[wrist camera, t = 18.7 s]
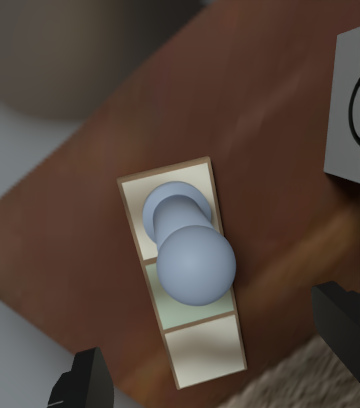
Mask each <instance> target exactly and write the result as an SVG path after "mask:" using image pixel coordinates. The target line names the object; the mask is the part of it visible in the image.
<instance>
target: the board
mask: <svg viewBox="0 0 360 408" xmlns="http://www.w3.org/2000/svg"><path fill="white" fill-rule="evenodd" d="M170 181H182V182H186V183H189V184H191V185H193V186H194V187H196V188H197V189H198V190H199V191H200V192H201V193H202V194H203V196H204V197H205V198H206V200H207V201H208V203H209V206H210V210H211V222H210V223H211V224H212V226H213V227H214V229H215V230H216V231H217V232H219V233H220V234H221V235H222V236H223V237H224V234H223V229H222V223H221V217H220V212H219V206H218V200H217V195H216V189H215V183H214V178H213V172H212V166H211V161H210V158H209V157H208V156H207V157H202V158H198V159H194V160H190V161H186V162H181V163H177V164H173V165H169V166H165V167H160V168H156V169H152V170H148V171H144V172H139V173H135V174H131V175H127V176H123V177H118V178H117V183H118V186H119V190H120V193H121V197H122V200H123V204H124V207H125V211H126V214H127V218H128V221H129V224H130V228H131V231H132V235H133V238H134V242H135V245H136V249H137V252H138V256H139V259H140V262H141V266H142V269H143V273H144V276H145V280H146V283H147V287H148V290H149V294H150V297H151V300H152V304H153V307H154V311H155V314H156V318H157V321H158V325H159V328H160V332H161V335H162V338H163V342H164V345H165V349H166V352H167V356H168V359H169V363H170V366H171V370H172V373H173V376H174V380H175V383H176V387H177V390H179V389H182V388H185V387H189V386H192V385H196V384H199V383H202V382H206V381H209V380H212V379H216V378H219V377H223V376H226V375H229V374H233V373H236V372H240V371H243V370H246V369H247V364H246V358H245V353H244V347H243V341H242V336H241V330H240V325H239V319H238V313H237V308H236V302H235V296H234V291H233V285H231V287H230V288H229V290H228V291H227V292H226V293H225V295H224V296H222V297H221V298H220V299H219V300H217V301H215V302H213V303H211V304H208V305H205V306H189V305H185V304H182V303H180V302H178V301H176V300H174V299H173V298H172V297H170V296H169V295H168V294H167V292H166V291H165V290H164V289H163V287H162V285H161V283H160V281H159V279H158V275H157V269H156V261H157V256H158V251H157V245H156V244H155V243H154V242H153V241H152V240H151V239H150V238H149V237H148V235H147V233H146V231H145V229H144V226H143V216H142V211H143V205H144V202H145V200H146V198H147V196H148V195H149V194H150V193H151V191H152V190H154V189H155V188H156V187H158V186H159V185H161V184H163V183H166V182H170Z"/></svg>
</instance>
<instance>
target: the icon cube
mask: <svg viewBox="0 0 360 408" xmlns="http://www.w3.org/2000/svg"><path fill="white" fill-rule="evenodd" d="M324 172H327V173H330V174H333V175H336V176H339V177H342V178H345V179H348V180H352V181H355V182H358V183H360V27H358V28H356V29H353V30H350V31H348V32H345V33H342V34H340V35H337V45H336V55H335V65H334V75H333V85H332V95H331V104H330V114H329V124H328V134H327V144H326V154H325V164H324Z"/></svg>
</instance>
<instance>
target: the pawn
mask: <svg viewBox="0 0 360 408" xmlns="http://www.w3.org/2000/svg"><path fill="white" fill-rule="evenodd" d="M142 216H143V226H144V229H145V231H146V233H147V235H148V237H149V238H150V239H151V240H152V241H153V242H154V243H155V244H156V245H157V251H158V256H157V261H156V269H157V275H158V279H159V281H160V283H161V285H162V287H163V289H164V290H165V291H166V292H167V294H168V295H169V296H170V297H172V298H173V299H174V300H176V301H178V302H180V303H182V304H185V305H189V306H205V305H208V304H211V303H213V302H215V301H217V300H219V299H220V298H221V297H222V296H224V295H225V293H226V292H227V291H228V290H229V288H230V287H231V285H232V283H233V280H234V277H235V272H236V260H235V256H234V252H233V250H232V247H231V246H230V244H229V242H228V241H227V240H226V239H225V238H224V237H223V236H222V235H221V234H220V233H219V232H217V231H216V230H215V229H214V227H213V226H212V224H211V223H210V222H211V210H210V206H209V203H208V201H207V200H206V198H205V197H204V196H203V194H202V193H201V192H200V191H199V190H198V189H197V188H196V187H194V186H193V185H191V184H189V183H186V182H182V181H170V182H166V183H163V184H161V185H159V186H158V187H156V188H155V189H154V190H152V191H151V193H150V194H149V195H148V196H147V198H146V200H145V202H144V205H143V211H142Z"/></svg>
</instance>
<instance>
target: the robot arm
mask: <svg viewBox="0 0 360 408" xmlns="http://www.w3.org/2000/svg"><path fill="white" fill-rule="evenodd" d="M311 294H312V305H313V316H314V323H315V326H316V328H317V330H318V332H319V334H320V336H321V337H322V338H323V340H324V341H325V342H326V343H327V344H328V345H329V347H330V348H331V349H332V350H333V351H334V353H335V354H336V355H337V356H338V357H339V359H340V360H341V361H342V362H343V363H344V365H345V366H346V367H347V368H348V369H349V371H350V372H351V373H352V374H353V375H354V377H355V378H356V379H357V380H358V381H359V383H360V294H359V293H357V292H354V291H349V292H347V291H345V290H344V289H343V288H342V287H341V286H339V285H338V284H337V283H336V282H334V281H330V282H326V283H323V284H319V285H316V286H313V287H312V289H311ZM113 404H114V388H113V382H112V378H111V376H110V373H109V371H108V368H107V365H106V363H105V360H104V358H103V355H102V352H101V350H100V348H99V347H95V348H92V349H88V350H85V351H81V352H78V353H76V355H75V357H74V361H73V365H72V369H71V371H69V372H66V373H63V374H62V375H61V377H60V378H59V380H58V381H57V383H56V384H55V386H54V387H53V389H52V392H51V395H50V398H49V401H48V407H47V408H113Z"/></svg>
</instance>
